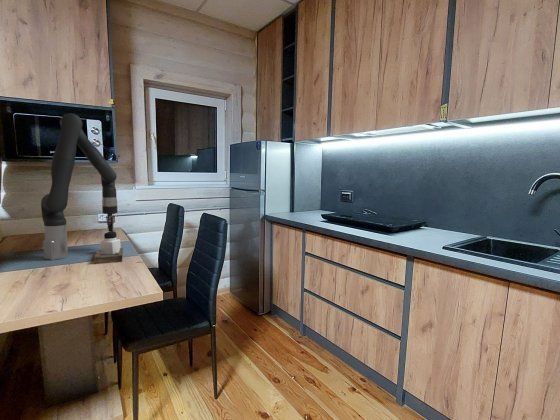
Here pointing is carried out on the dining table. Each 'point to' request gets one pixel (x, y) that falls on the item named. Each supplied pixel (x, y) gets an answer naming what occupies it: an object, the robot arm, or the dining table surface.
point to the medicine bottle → (110, 243)
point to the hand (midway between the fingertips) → (110, 234)
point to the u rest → (108, 257)
